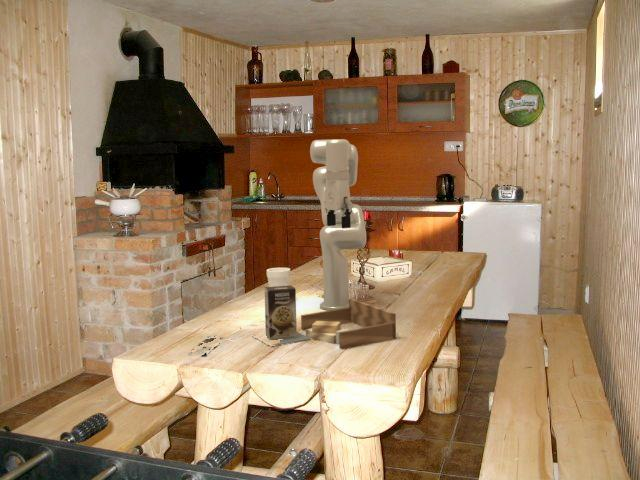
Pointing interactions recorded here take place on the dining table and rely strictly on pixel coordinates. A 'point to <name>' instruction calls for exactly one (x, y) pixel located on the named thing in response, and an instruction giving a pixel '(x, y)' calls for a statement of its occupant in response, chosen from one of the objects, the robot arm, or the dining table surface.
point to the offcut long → (321, 336)
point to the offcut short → (326, 327)
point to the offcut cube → (338, 335)
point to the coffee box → (280, 312)
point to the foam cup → (278, 276)
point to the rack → (370, 317)
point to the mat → (294, 339)
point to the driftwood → (206, 341)
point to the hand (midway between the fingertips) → (338, 226)
